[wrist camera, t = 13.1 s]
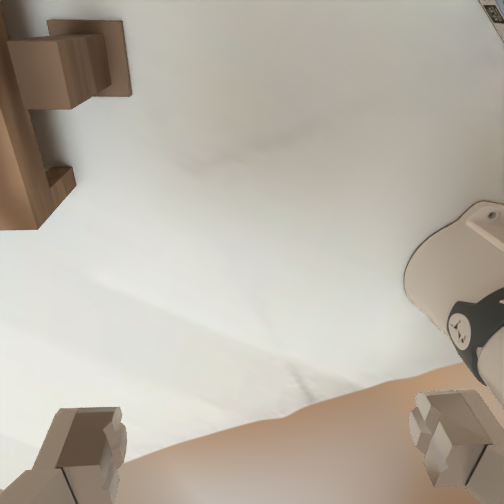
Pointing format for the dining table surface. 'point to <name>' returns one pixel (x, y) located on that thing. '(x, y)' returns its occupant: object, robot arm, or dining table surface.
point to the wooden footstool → (24, 158)
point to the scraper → (71, 64)
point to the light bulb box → (495, 14)
